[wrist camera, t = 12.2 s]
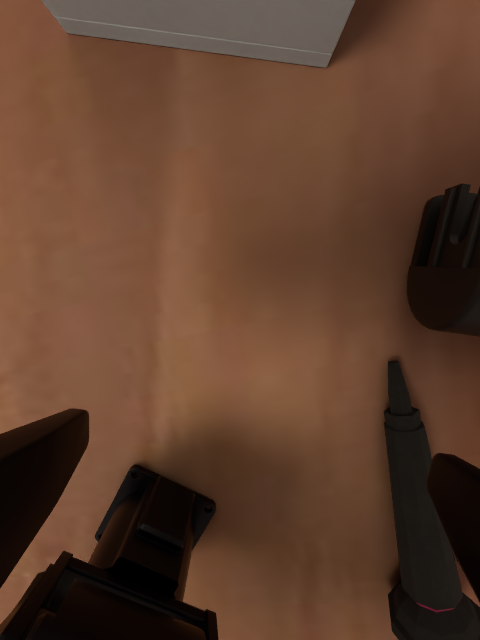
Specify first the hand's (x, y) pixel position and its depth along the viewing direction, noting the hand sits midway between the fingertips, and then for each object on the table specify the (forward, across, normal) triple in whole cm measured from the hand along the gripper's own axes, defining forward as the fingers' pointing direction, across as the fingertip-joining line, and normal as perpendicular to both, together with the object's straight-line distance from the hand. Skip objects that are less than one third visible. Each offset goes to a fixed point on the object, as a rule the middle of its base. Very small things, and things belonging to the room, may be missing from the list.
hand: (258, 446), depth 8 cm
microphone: (+12, -12, +11) cm, 20 cm away
